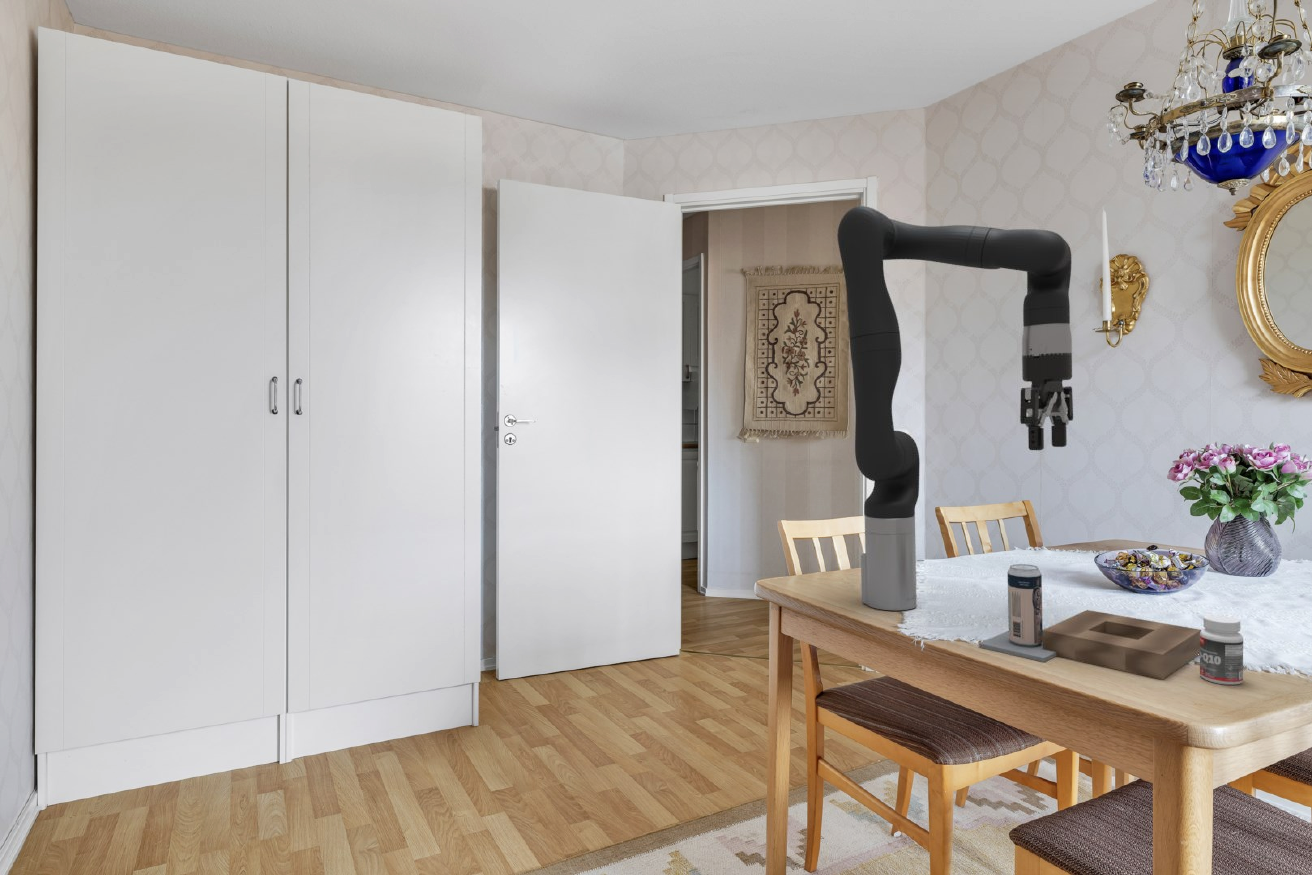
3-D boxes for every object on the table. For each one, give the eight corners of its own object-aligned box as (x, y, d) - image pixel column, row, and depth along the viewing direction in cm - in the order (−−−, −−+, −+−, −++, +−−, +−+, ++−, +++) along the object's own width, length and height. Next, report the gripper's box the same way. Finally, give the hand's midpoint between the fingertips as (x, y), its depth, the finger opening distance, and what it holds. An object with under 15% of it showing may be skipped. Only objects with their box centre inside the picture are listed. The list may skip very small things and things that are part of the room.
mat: (979, 647, 121) (979, 643, 121) (1010, 633, 127) (1010, 629, 127) (1044, 662, 113) (1044, 658, 113) (1073, 646, 119) (1073, 643, 119)
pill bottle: (1191, 674, 106) (1191, 614, 106) (1223, 672, 107) (1223, 612, 106) (1219, 686, 102) (1219, 624, 101) (1252, 684, 102) (1252, 622, 102)
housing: (1042, 652, 117) (1042, 630, 117) (1087, 630, 127) (1087, 609, 127) (1162, 679, 105) (1162, 654, 105) (1201, 652, 115) (1201, 629, 115)
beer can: (1046, 648, 117) (1045, 570, 117) (1012, 647, 118) (1011, 570, 118) (1038, 638, 122) (1036, 563, 121) (1005, 637, 123) (1004, 563, 123)
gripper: (1043, 354, 137) (1044, 445, 138) (1004, 353, 128) (1005, 450, 129) (1088, 351, 131) (1089, 446, 132) (1050, 350, 122) (1051, 451, 123)
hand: (1047, 448), depth 131 cm, fingers open, 8 cm apart
